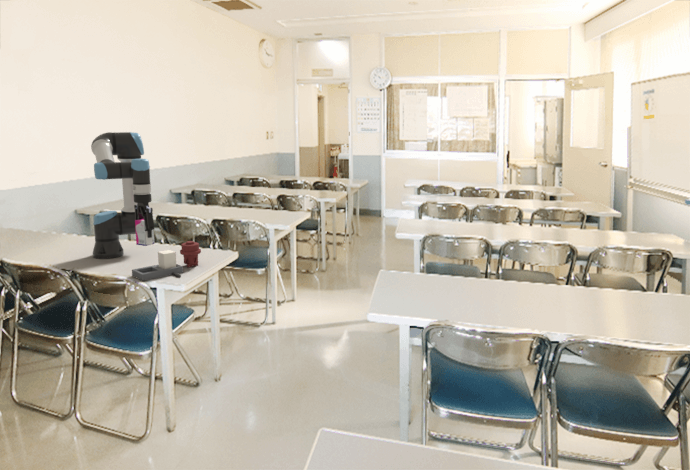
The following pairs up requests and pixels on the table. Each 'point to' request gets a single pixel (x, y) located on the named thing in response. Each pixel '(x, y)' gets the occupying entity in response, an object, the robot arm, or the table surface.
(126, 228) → the robot arm
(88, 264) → the table surface
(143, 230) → the supplement box
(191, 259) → the mechanical component
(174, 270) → the grey double recess tray
